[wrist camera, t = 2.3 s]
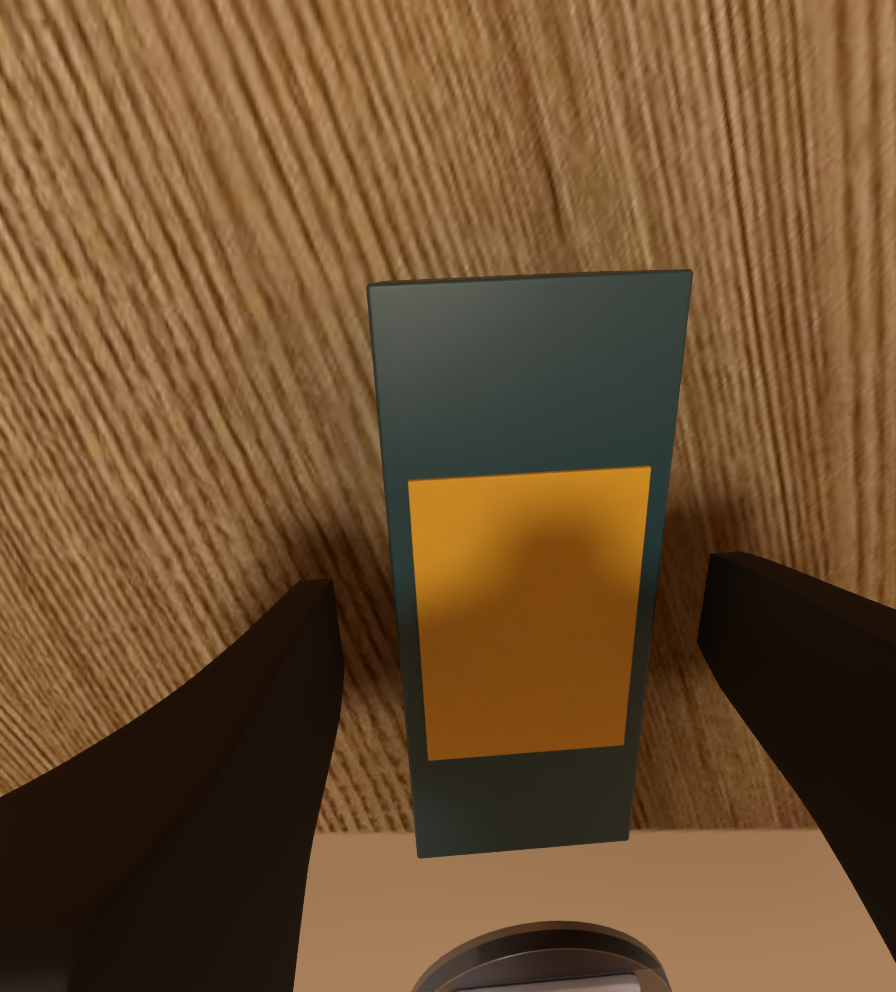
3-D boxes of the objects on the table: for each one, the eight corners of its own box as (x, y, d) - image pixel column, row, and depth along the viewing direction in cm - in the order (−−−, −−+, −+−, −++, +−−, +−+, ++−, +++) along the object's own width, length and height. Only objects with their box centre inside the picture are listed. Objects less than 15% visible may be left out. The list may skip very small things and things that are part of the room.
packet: (580, 712, 16) (631, 845, 12) (416, 725, 16) (417, 864, 12) (606, 271, 12) (698, 268, 8) (380, 281, 12) (365, 284, 8)
